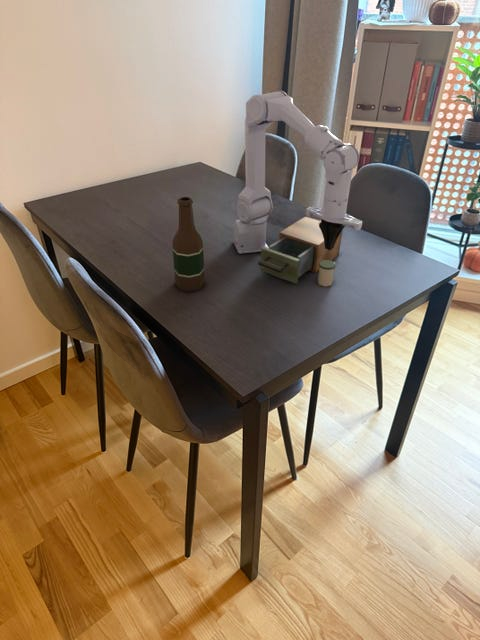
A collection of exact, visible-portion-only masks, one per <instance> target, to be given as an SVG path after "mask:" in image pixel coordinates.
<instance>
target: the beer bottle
mask: <svg viewBox="0 0 480 640" xmlns="http://www.w3.org/2000/svg"><path fill="white" fill-rule="evenodd" d="M177 204H178V228H177V231H176V233H175V234H174V236H173V238H172V258H173V259H172V260H173V272H174V282H175V285H176V286H177V288H178V289H179V290H180V291H185V292H194V291H195V292H196V291H198V290H201V288H203V286H204V284H205V259H204V258H205V257H204V256H205V255H204V240H203V239H202V236H201V234H200V233H199V232H198V230H196V229H197V228H196V226H195V219H194V211H193V210H194V209H193V204H194V201H193V199H192V198H191V197H190V196H182V197H179V198H178V199H177Z"/></svg>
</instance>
